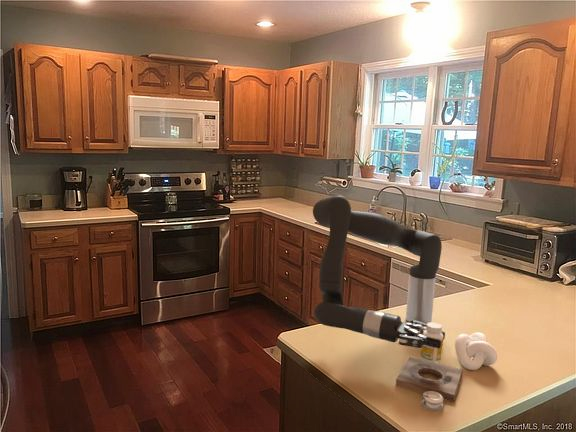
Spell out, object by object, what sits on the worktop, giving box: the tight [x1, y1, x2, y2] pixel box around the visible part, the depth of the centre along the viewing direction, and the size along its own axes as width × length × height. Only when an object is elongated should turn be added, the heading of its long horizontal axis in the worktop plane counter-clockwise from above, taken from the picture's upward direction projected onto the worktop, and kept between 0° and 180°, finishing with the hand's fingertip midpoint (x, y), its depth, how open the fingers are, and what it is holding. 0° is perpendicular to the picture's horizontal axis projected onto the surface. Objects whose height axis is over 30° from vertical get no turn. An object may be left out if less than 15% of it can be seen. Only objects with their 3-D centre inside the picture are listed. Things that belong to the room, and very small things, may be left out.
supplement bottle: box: [420, 321, 444, 363], centre depth 125 cm, size 5×5×10 cm
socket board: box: [395, 355, 463, 403], centre depth 127 cm, size 15×15×2 cm
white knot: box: [454, 331, 498, 371], centre depth 136 cm, size 11×12×9 cm
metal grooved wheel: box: [421, 391, 445, 413], centre depth 115 cm, size 5×3×5 cm
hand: (442, 340), depth 124 cm, fingers closed on supplement bottle, 5 cm apart
